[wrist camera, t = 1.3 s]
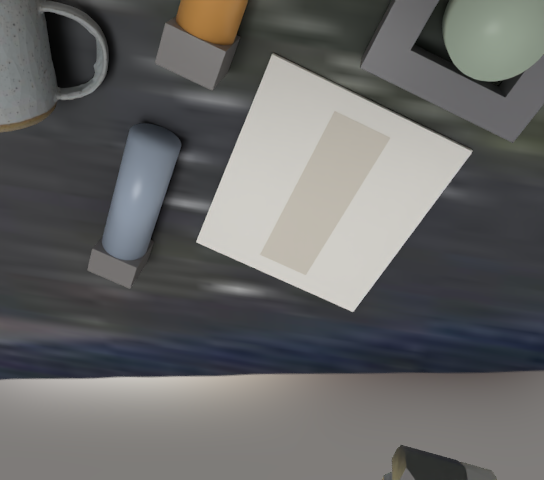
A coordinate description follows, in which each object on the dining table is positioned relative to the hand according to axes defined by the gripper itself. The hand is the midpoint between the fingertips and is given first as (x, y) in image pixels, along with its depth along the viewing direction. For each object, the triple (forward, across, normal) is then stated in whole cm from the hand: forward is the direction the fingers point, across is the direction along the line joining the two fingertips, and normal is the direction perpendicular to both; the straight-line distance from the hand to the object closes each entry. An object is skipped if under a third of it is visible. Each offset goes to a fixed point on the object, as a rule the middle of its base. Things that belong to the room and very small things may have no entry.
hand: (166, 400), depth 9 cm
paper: (+27, -2, +7) cm, 28 cm away
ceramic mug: (+26, +19, +1) cm, 32 cm away
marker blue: (+27, +11, +11) cm, 31 cm away
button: (+24, -8, -6) cm, 26 cm away
